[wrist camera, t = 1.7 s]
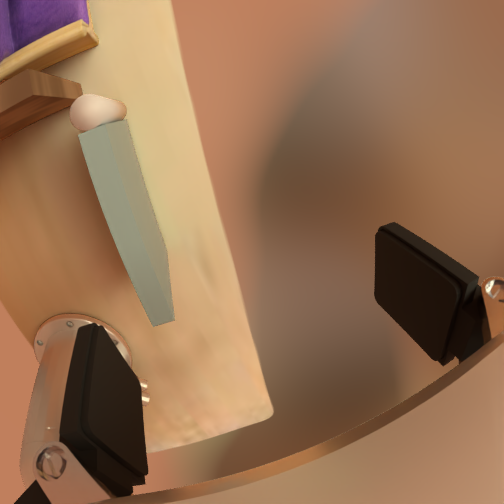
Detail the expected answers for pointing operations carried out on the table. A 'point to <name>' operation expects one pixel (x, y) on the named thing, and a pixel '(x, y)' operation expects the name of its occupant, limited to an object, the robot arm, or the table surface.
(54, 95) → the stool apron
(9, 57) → the toy sofa
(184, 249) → the table surface
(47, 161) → the table surface
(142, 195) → the grey panel
